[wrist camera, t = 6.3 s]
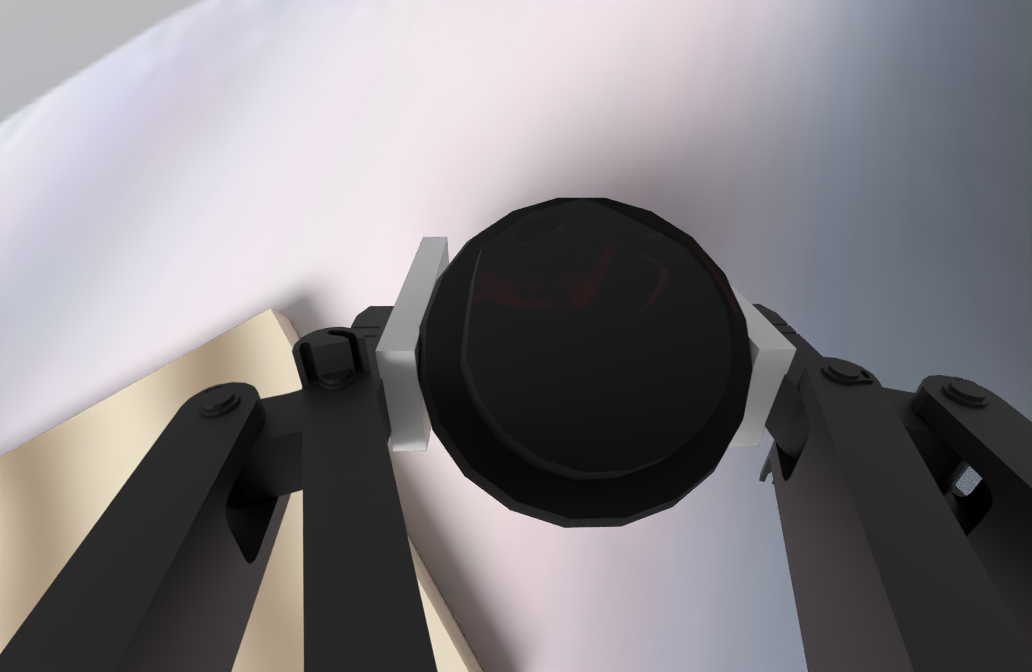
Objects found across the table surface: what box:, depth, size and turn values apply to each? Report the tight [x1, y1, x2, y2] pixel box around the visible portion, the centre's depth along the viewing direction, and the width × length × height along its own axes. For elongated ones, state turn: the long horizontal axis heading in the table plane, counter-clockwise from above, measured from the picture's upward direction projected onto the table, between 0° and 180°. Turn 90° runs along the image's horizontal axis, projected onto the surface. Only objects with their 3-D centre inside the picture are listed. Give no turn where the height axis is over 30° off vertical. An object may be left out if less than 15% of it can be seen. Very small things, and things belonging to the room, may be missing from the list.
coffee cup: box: [418, 198, 753, 528], centre depth 13 cm, size 7×7×10 cm
